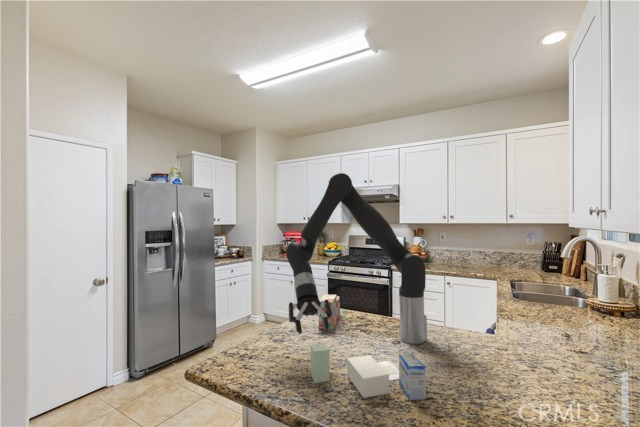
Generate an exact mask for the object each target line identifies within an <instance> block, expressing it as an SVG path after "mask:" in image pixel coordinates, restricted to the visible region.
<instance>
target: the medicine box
mask: <svg viewBox="0 0 640 427" xmlns="http://www.w3.org/2000/svg"><path fill="white" fill-rule="evenodd" d="M398 370H399V380H398V382H399V383H398V384H399V386H400V388H401V389H402V390H403V391H404V392H403V393H405V395H406V396H407V398H408V399H409V400H410V401H420V400H421V401H423V400H426V398H427V397H426V396H427V395H426V393H427V392H426V386H427V385H426V366H425V365H424V364H423V363H422V361H420V359H418V357H417V356H416V355H415V354H414V353H410V352H409V353H407V352H406V353H399V354H398Z"/></svg>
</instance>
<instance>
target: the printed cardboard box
mask: <svg viewBox="0 0 640 427" xmlns="http://www.w3.org/2000/svg"><path fill="white" fill-rule="evenodd" d="M340 297H341V296H338V295H337V294H323V296H322V297H321V298H320V299H319V301H320V302H322V301H325V300H326V299H327V300H328V302H329V305H330V308H331V312H332V315H331V318H330V319H328V324H329V328H328V330H329V331H330V330H333V329H334V328H335V326H336V324H337V322H338V319H339V318H340V316H341V298H340ZM320 308H321V309H322V310H323V312H324V313H326V311H325V308H323V306H321V305H320ZM322 321H323V320H322V319H321V318H320V317H318V330H324V327H323V322H322Z"/></svg>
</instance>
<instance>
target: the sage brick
mask: <svg viewBox="0 0 640 427" xmlns="http://www.w3.org/2000/svg"><path fill="white" fill-rule="evenodd" d="M310 376H311V378H312V381H313V383H314V384H318V383H325V382H330V380H331V379H330V348H329V347H328V346H327V344H326V343H318V344H311V345H310Z"/></svg>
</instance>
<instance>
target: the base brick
mask: <svg viewBox="0 0 640 427" xmlns="http://www.w3.org/2000/svg"><path fill="white" fill-rule="evenodd" d="M346 365H347V366H346V372H347V373H346V374H347V375H348V376H347V377H348V379H349V380H350V381H351V382H352V384H353V386H354V387H355V389H356V390H357V391H358V393H360V395H361V397H362V398H363V399H365V398H371V397H377V396H381V395H382V396H383V395H388V394H390V381H389V374H388V373H387V372H386V371H385V370H384V369H383V368H382V367H381V366H380V365H379V364H378V363H377V360H375V359H374V358H373V357H372V356H371V355H370V354H369V355H368V354H367V355H362V356H356V357H349V358H347V359H346Z"/></svg>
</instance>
